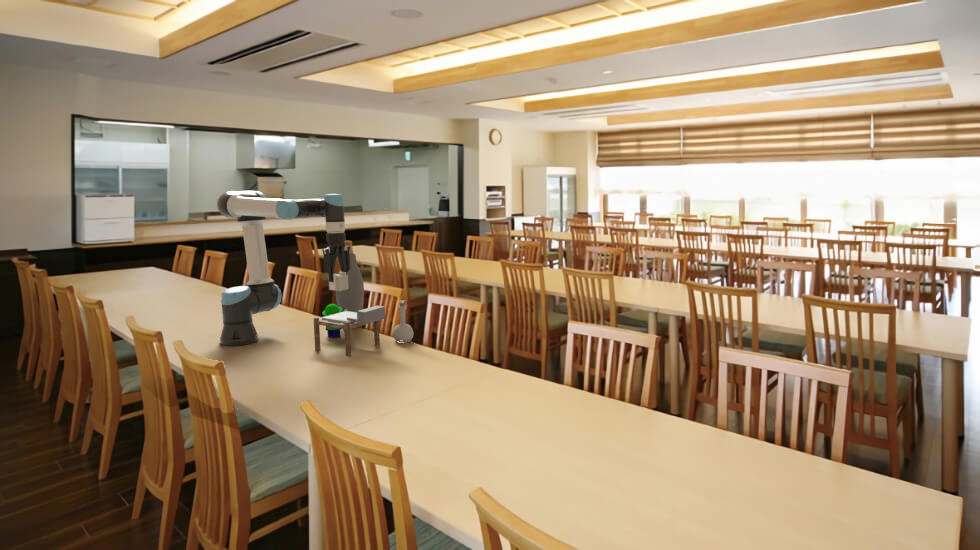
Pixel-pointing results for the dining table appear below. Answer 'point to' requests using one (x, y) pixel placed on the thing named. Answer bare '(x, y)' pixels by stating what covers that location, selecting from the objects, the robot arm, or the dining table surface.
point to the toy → (332, 331)
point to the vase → (352, 289)
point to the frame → (346, 327)
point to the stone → (341, 282)
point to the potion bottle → (403, 326)
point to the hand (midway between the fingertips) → (338, 288)
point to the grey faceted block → (358, 316)
